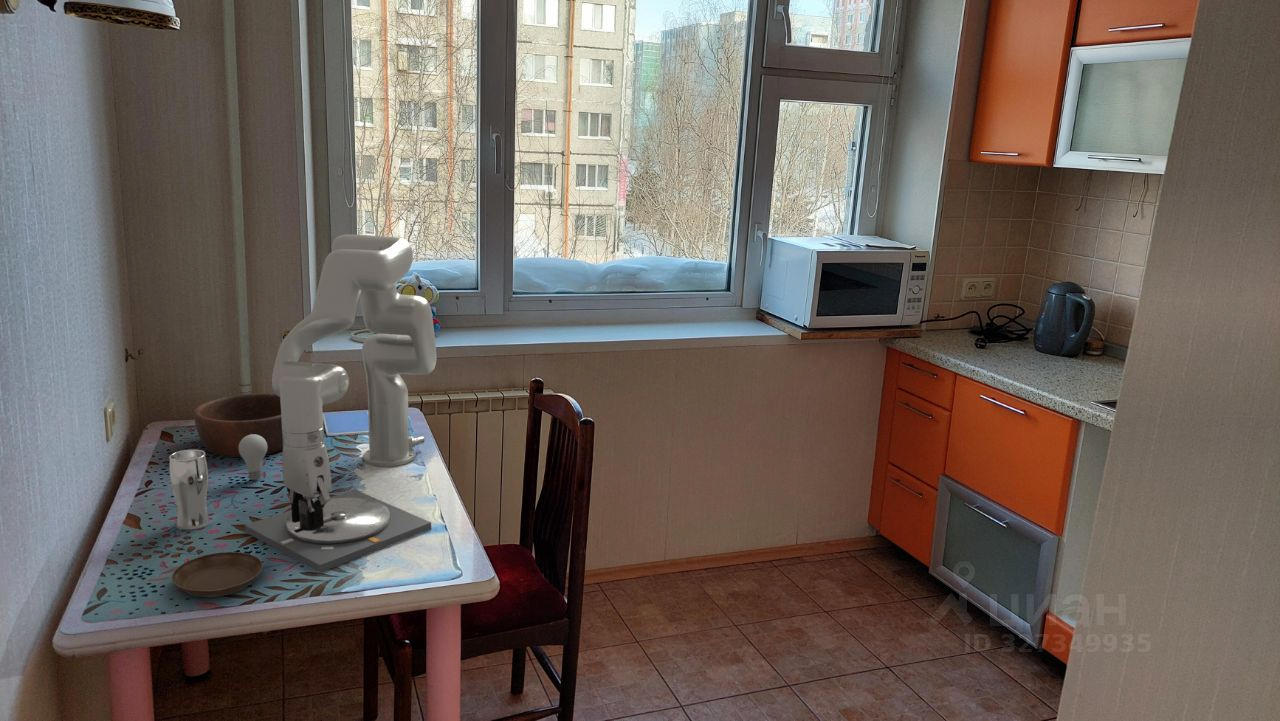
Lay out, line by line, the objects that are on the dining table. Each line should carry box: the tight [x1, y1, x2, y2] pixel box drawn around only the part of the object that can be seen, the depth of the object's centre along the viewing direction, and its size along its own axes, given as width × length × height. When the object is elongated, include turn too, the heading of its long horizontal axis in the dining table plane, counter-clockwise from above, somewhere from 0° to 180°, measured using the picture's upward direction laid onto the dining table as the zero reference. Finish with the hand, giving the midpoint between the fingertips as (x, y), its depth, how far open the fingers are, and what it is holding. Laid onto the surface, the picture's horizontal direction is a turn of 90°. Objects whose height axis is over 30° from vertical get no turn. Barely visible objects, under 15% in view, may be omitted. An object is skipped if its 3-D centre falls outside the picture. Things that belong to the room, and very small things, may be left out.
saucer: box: [171, 551, 264, 598], centre depth 164 cm, size 15×15×3 cm
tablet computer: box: [323, 410, 369, 437], centre depth 252 cm, size 19×13×1 cm, turn 22°
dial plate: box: [244, 489, 432, 573], centre depth 187 cm, size 26×26×2 cm
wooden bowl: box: [193, 393, 283, 458], centre depth 232 cm, size 25×25×10 cm
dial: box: [286, 496, 390, 544], centre depth 185 cm, size 20×20×7 cm
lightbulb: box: [238, 434, 268, 482], centre depth 209 cm, size 6×6×11 cm
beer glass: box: [168, 449, 210, 531], centre depth 185 cm, size 7×7×15 cm
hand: (307, 523), depth 180 cm, fingers open, 4 cm apart
